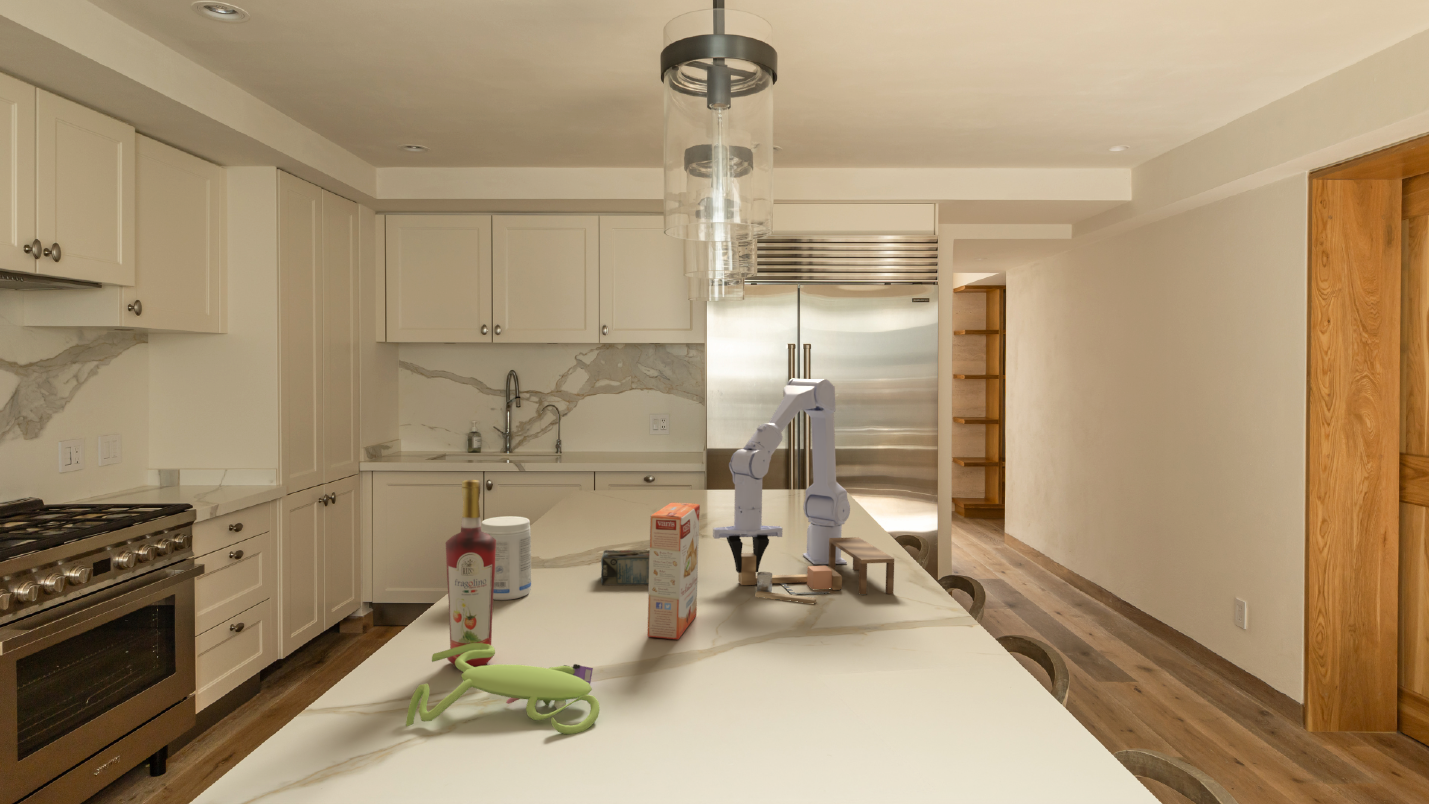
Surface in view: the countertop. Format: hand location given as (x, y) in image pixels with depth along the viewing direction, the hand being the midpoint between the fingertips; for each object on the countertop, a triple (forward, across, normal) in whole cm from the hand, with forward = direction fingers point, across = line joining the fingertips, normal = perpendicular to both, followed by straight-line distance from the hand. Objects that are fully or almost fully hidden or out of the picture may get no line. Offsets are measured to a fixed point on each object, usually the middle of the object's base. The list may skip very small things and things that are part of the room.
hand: (747, 571), depth 171 cm
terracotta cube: (+3, +14, -4) cm, 15 cm away
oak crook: (+3, +8, -3) cm, 9 cm away
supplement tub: (+3, -49, -1) cm, 49 cm away
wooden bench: (+3, +24, -1) cm, 25 cm away
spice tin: (+3, +2, -7) cm, 8 cm away
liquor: (+3, -52, -38) cm, 64 cm away
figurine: (+3, -46, -52) cm, 70 cm away
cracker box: (+3, -19, -25) cm, 31 cm away
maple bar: (+3, +5, -12) cm, 13 cm away
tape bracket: (+3, +12, -3) cm, 12 cm away
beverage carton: (+3, -20, +6) cm, 21 cm away
